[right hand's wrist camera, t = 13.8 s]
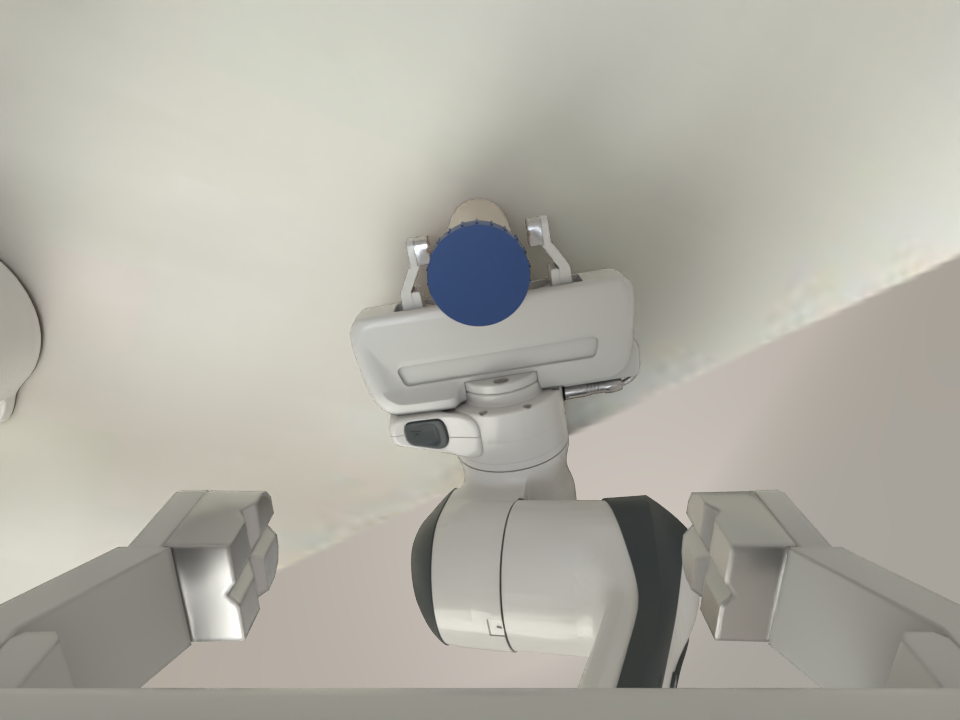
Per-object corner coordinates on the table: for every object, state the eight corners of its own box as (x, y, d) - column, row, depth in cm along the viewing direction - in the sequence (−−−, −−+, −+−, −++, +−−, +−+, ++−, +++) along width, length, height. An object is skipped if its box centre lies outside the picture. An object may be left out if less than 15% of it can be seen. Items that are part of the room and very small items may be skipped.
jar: (471, 269, 47) (467, 335, 31) (437, 221, 46) (415, 264, 30) (519, 236, 46) (541, 286, 30) (486, 186, 45) (490, 210, 29)
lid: (466, 335, 33) (466, 347, 31) (408, 256, 31) (404, 264, 29) (547, 282, 32) (551, 290, 30) (491, 197, 30) (492, 201, 28)
